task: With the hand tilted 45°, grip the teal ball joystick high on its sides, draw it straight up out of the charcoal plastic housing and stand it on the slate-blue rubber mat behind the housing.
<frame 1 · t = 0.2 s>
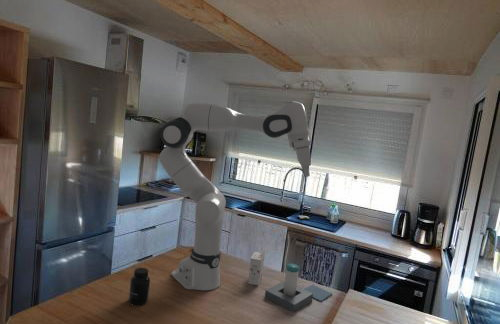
hand: (306, 174, 139), 51 cm above the countertop, tool tilted 20°, fingers open, 8 cm apart
supplement bottle: (138, 302, 125), on the countertop
rubber mat: (316, 293, 147), on the countertop
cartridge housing: (288, 298, 140), on the countertop
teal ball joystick: (290, 282, 139), in the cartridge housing
ink cartridge box: (254, 281, 153), on the countertop
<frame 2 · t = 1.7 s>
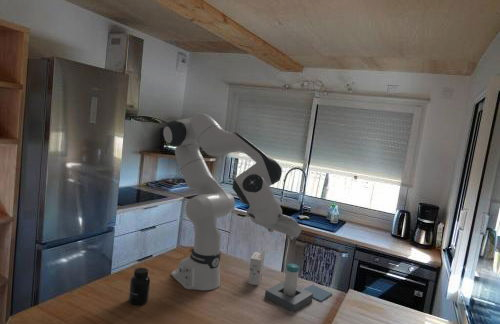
hand: (281, 234, 128), 29 cm above the countertop, tool tilted 45°, fingers open, 8 cm apart
nothing on the countertop moved.
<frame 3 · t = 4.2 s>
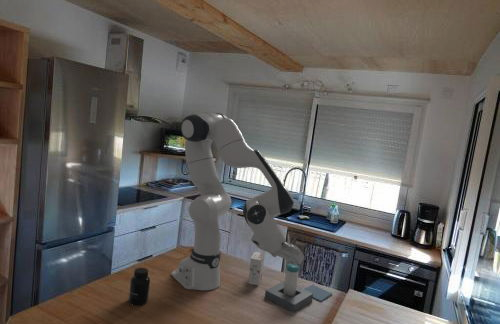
hand: (284, 259, 132), 19 cm above the countertop, tool tilted 45°, fingers open, 8 cm apart
nothing on the countertop moved.
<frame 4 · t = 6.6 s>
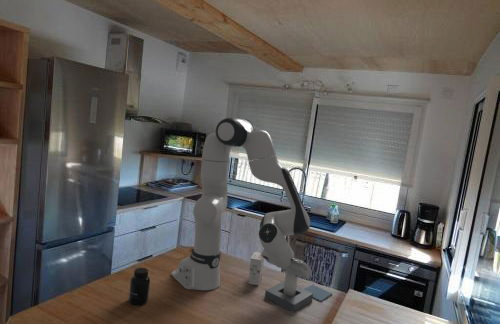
hand: (292, 273, 139), 11 cm above the countertop, tool tilted 45°, fingers closed on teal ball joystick, 5 cm apart
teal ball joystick: (290, 282, 139), in the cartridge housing, touching gripper
everything else where it was.
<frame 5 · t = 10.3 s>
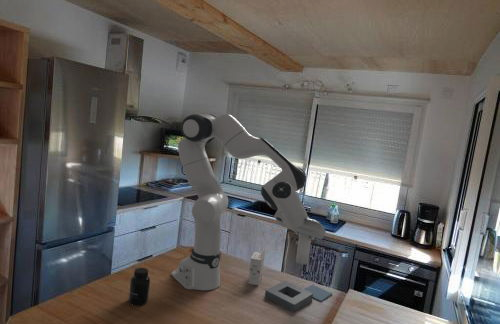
hand: (305, 235, 139), 26 cm above the countertop, tool tilted 45°, fingers closed on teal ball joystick, 5 cm apart
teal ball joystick: (304, 245, 139), point 23 cm above the countertop, touching gripper
everything else where it was.
when the fingers open (12 cm above the countertop, at t = 14.1 s): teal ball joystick stays where it is, resting on rubber mat.
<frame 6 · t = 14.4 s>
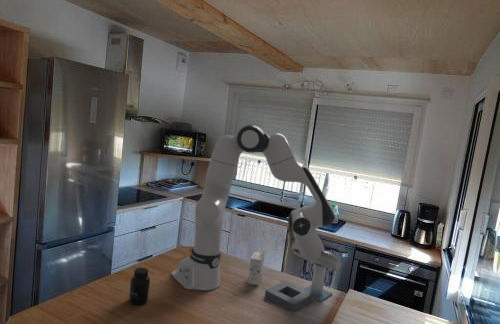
hand: (320, 265, 146), 12 cm above the countertop, tool tilted 45°, fingers open, 8 cm apart
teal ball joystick: (318, 276, 146), on the rubber mat, point 8 cm above the countertop
everything else where it was.
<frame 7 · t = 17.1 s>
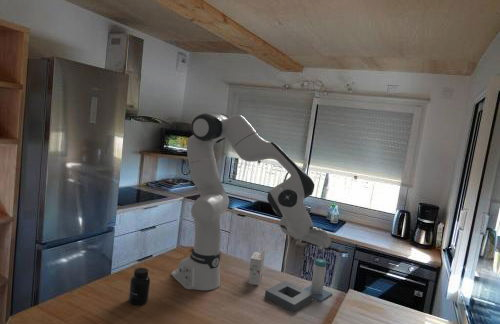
hand: (310, 244, 136), 24 cm above the countertop, tool tilted 45°, fingers open, 8 cm apart
nothing on the countertop moved.
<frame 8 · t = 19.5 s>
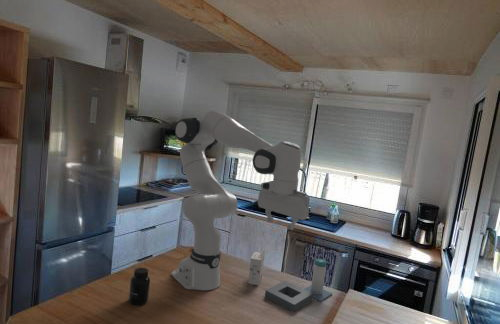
hand: (280, 225, 123), 34 cm above the countertop, tool pointing down, fingers open, 8 cm apart
nothing on the countertop moved.
at the end: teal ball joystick 0.1 cm off-centre on the rubber mat, point 7.6 cm above the rubber mat's base; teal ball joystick tilted 0°; the gripper is holding nothing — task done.
